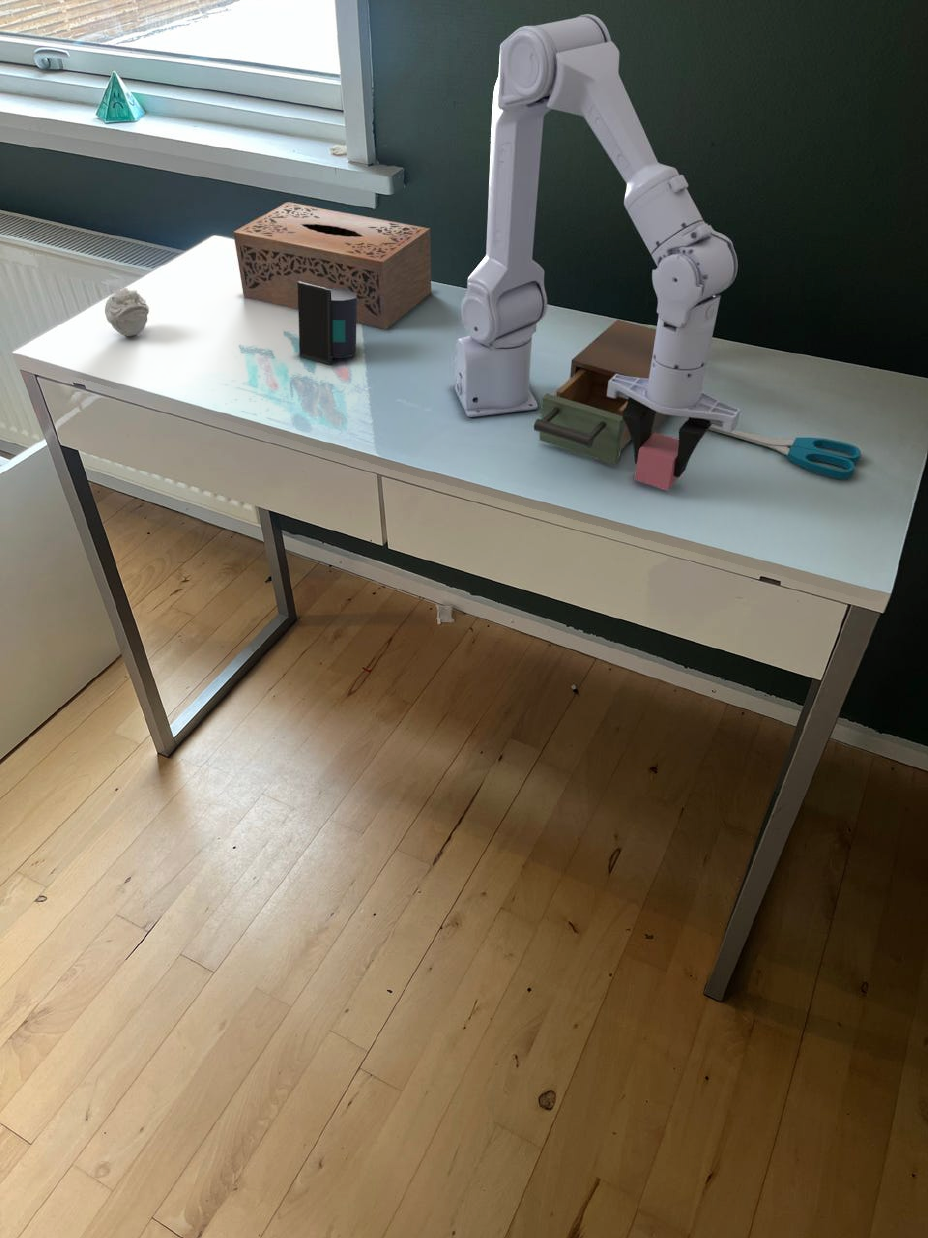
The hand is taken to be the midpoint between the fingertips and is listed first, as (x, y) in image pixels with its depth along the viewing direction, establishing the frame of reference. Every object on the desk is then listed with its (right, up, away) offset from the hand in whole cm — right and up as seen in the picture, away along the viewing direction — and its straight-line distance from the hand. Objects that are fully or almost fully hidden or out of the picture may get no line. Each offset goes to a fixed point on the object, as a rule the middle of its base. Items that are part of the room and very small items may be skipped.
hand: (660, 466), depth 106 cm
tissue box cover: (-43, +34, +40) cm, 67 cm away
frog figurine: (-71, +24, +29) cm, 81 cm away
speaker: (-41, +20, +25) cm, 53 cm away
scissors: (+15, +4, +7) cm, 17 cm away
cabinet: (-1, +11, +15) cm, 18 cm away
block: (0, -1, +1) cm, 1 cm away
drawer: (-7, +5, +7) cm, 11 cm away
